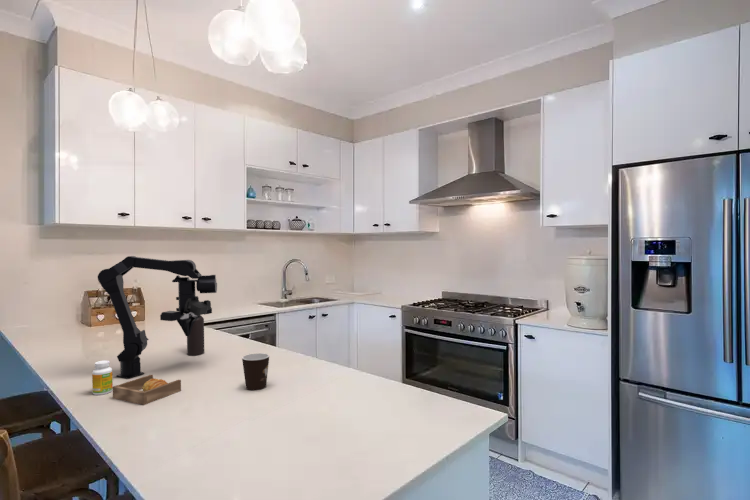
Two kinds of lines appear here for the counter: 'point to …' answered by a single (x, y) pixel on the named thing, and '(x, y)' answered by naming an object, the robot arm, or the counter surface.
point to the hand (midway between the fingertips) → (187, 336)
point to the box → (132, 393)
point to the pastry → (153, 384)
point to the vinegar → (196, 338)
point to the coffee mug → (255, 370)
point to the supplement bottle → (102, 378)
